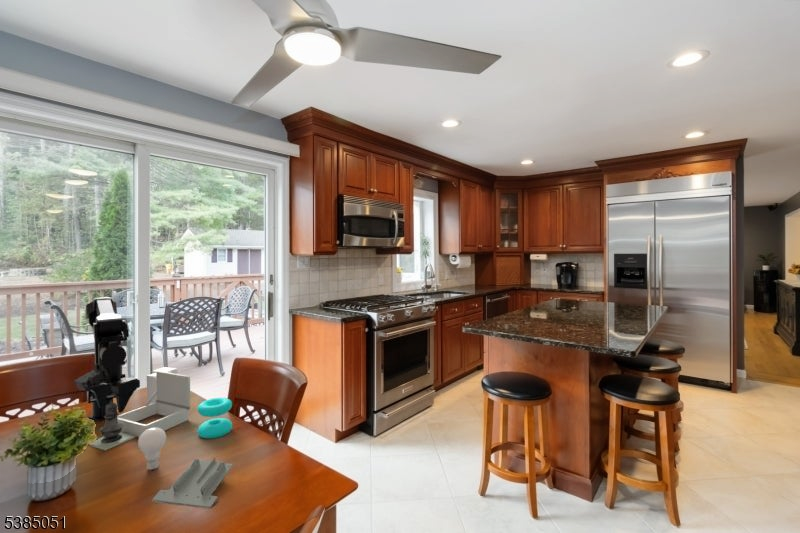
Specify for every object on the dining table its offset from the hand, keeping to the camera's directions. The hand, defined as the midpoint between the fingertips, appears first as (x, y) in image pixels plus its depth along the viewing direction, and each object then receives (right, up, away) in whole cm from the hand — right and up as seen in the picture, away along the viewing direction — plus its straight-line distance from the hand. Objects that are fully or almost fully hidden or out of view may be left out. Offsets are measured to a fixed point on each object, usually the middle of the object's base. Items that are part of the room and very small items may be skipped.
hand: (111, 409), depth 117 cm
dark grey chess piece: (0, -9, 0) cm, 9 cm away
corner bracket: (-3, -9, +31) cm, 33 cm away
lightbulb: (+22, -10, -15) cm, 29 cm away
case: (+5, -9, +12) cm, 16 cm away
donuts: (+29, -10, +6) cm, 31 cm away
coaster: (0, -10, 0) cm, 10 cm away
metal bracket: (+39, -11, -23) cm, 47 cm away
